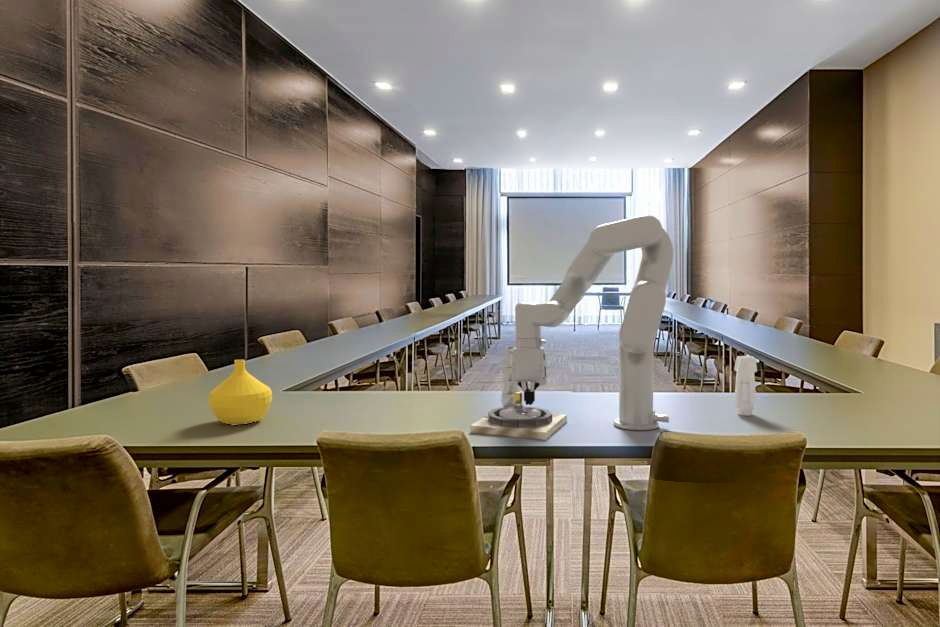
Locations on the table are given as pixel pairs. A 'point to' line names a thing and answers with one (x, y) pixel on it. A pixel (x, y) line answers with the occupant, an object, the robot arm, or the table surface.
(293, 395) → the table surface
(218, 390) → the vase
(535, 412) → the dial
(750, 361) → the flashlight
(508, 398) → the plastic bottle
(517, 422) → the dial plate
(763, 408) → the table surface
